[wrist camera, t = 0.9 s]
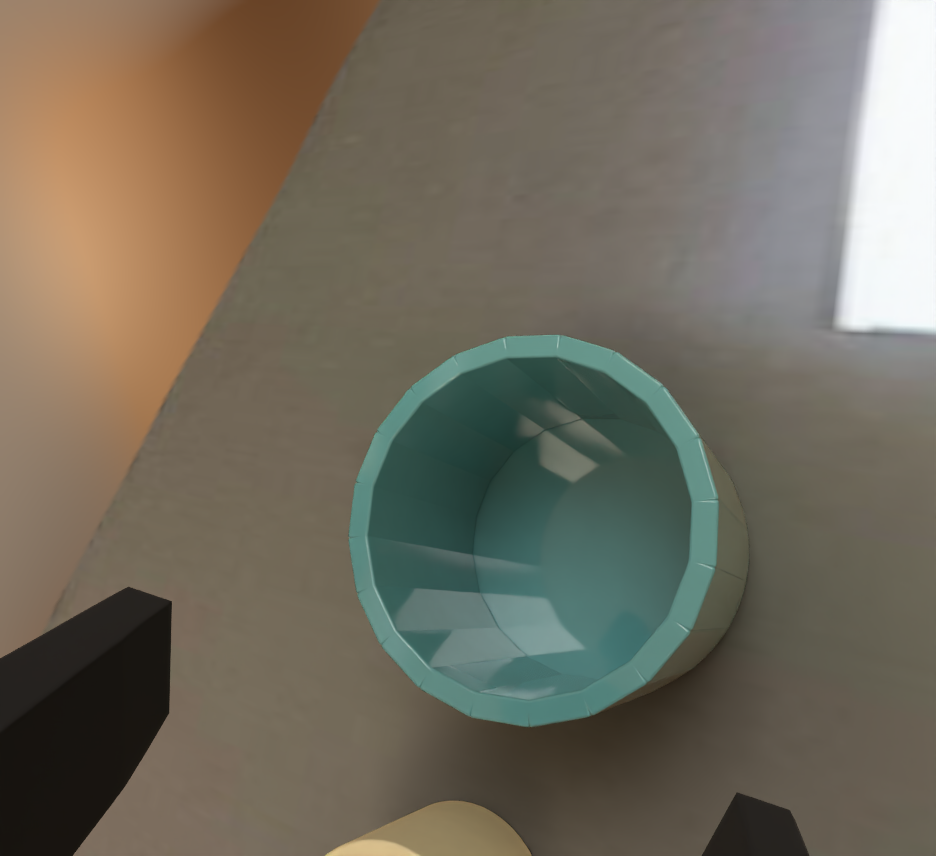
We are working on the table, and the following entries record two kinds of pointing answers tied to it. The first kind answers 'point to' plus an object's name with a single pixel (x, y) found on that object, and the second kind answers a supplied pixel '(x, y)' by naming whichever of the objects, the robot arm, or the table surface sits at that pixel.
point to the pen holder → (544, 533)
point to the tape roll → (440, 834)
